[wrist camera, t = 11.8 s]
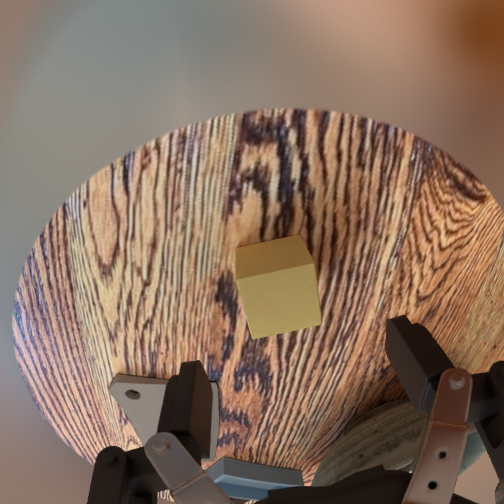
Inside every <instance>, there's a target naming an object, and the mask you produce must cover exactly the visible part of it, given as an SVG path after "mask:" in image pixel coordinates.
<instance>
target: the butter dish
mask: <svg viewBox="0 0 504 504" xmlns="http://www.w3.org/2000/svg"><path fill="white" fill-rule="evenodd" d="M205 472H206V473H207V474H208V476H209V477H210V478H211V479H212V480H213V481H214V482H215V483H216V484H217V485H218V486H219V487H220V489H221V490H222V491H223V492H224V493H225V494H226V495H227V496H228V497H232V498H238V499H245V500H253V501H259V500H261V499H263V498H265V497H268V490H274V489H281V488H287V487H293V486H304V483H303V477H302V471H300V470H292V469H285V468H278V467H272V466H266V465H261V464H255V463H250V462H245V461H241V460H236V459H232V458H227V457H223V458H221V459H220V460H219V461H218V462H216V463H215V464H214V465H212V466H211V467H210V468H208V469H207V470H206V471H205Z"/></svg>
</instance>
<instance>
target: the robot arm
mask: <svg viewBox="0 0 504 504" xmlns="http://www.w3.org/2000/svg"><path fill="white" fill-rule="evenodd" d="M385 349H386V354H387V357H388V359H389V361H390V363H391V365H392V367H393V368H394V370H395V372H396V374H397V376H398V378H399V380H400V382H401V384H402V385H403V387H404V389H405V391H406V393H407V395H408V397H409V399H410V401H411V403H412V405H413V407H414V409H415V411H416V413H419V412H421V411H424V410H425V411H426V413H427V418H426V421H425V425H424V428H423V431H422V434H421V437H420V441H419V444H418V447H417V449H416V452H415V455H414V458H413V460H412V462H411V465H410V467H409V470H408V472H407V471H403V470H384V467H383V464H381V465H378V466H375V467H372V468H369V469H365V470H362V471H359V472H355V473H353V474H351V475H349V476H348V477H346V478H344V479H342V480H340V481H338V482H336V483H333V484H331V485H329V486H293V487H287V488H281V489H274V490H268V497H265V498H263V499H261V500H259V501H257V502H255V503H253V504H478V503H475V502H473V501H471V500H468V499H466V498H464V497H461V496H459V495H457V494H455V493H453V491H454V487H455V485H456V481H457V478H458V474H459V471H460V467H461V463H462V459H463V455H464V451H465V447H466V442H467V437H468V432H469V425H467V423H472V422H473V423H474V425H475V427H476V429H477V431H478V433H479V435H480V438H481V440H482V442H483V444H484V446H485V448H486V450H487V453H488V455H489V457H490V459H491V462H492V464H493V466H494V468H495V471H496V473H497V476H498V478H499V481H500V482H499V483H498V485H497V487H496V490H495V501H496V504H504V361H498V362H496V363H494V364H493V365H492V366H491V368H490V371H489V372H485V373H478V374H470V373H469V372H467V371H466V370H464V369H462V368H455V366H454V365H453V364H452V362H451V361H450V359H449V358H448V357H447V355H446V354H445V353H444V351H443V350H442V348H441V347H440V346H439V344H437V342H436V340H435V339H434V338H433V337H432V335H431V334H430V332H429V331H428V330H427V328H425V327H424V326H422V325H420V324H419V323H414V324H411V322H410V321H409V320H408V318H407V317H406V316H405V315H401V316H398V317H394V318H391V319H388V320H387V328H386V342H385ZM212 404H213V391H212V386H211V383H210V381H209V379H208V377H207V374H206V372H205V370H204V368H203V366H202V363H201V362H200V361H199V360H196V361H189V362H182V363H181V367H180V372H179V375H172V377H171V378H170V380H169V381H168V383H167V384H166V388H165V393H164V398H163V404H162V407H161V412H160V417H159V422H158V428H157V432H156V434H155V435H153V436H152V437H150V438H149V439H148V441H147V442H146V444H145V446H143V447H140V448H137V449H133V450H130V451H126V452H125V451H124V450H123V449H121V448H120V447H117V446H109V447H106V448H104V449H103V450H101V451H100V453H99V454H98V456H97V458H96V462H95V467H94V471H93V476H92V481H91V486H90V491H89V496H88V502H87V504H157V494H158V492H160V491H164V490H167V489H169V490H170V495H171V497H172V498H173V500H174V501H175V502H176V504H235V503H234V502H233V501H232V500H231V499H230V498H229V497H228V496H227V495H226V494H225V493H224V492H223V491H222V490H221V489H220V487H219V486H218V485H217V484H216V483H215V482H214V481H213V480H212V479H211V478H210V477H209V476H208V474H207V473H206V472H205V471H204V470H203V469H202V468H201V459H210V443H211V423H212Z"/></svg>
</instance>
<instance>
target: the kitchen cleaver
mask: <svg viewBox="0 0 504 504" xmlns="http://www.w3.org/2000/svg"><path fill="white" fill-rule="evenodd" d="M168 381H169V380H166V379H155V378H146V377H137V376H129V375H122V374H117V375H116V376H115V378H114V379H113V380H112V381H111V383H110V386H109V389H108V391H109V392H110V394H111V395H112V396H113V397H114V399H115V400H116V401H117V402H118V403H119V405H120V406H121V407H122V408H123V410H124V411H125V413H126V415H127V416H128V418H129V419H130V421H131V423H132V424H133V426H134V428H135V430H136V432H137V434H138V436H139V438H140V440H141V443H142V446H145V444H146V442H147V441H148V439H149V438H150V437H152V436H153V435H155V434H156V432H157V428H158V422H159V417H160V412H161V407H162V404H163V398H164V393H165V388H166V384H167V383H168ZM210 383H211V386H212V391H213V404H212V423H211V443H210V459H201V461H214V458H215V452H216V446H217V439H218V432H219V406H218V387H217V385H216V382H210ZM130 390H135V391H138V392H139V393H134V392H132V391H130Z"/></svg>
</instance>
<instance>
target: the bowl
mask: <svg viewBox="0 0 504 504" xmlns="http://www.w3.org/2000/svg"><path fill="white" fill-rule="evenodd" d="M426 418H427V413H426V411H425V410H424V411H421V412H419V413H416V411H415V409H414V407H413V405H412V403H411V401H410V400H409V399H400V400H395V401H391V402H388V403H385V404H383V405H381V406H378V407H376V408H374V409H372V410H370V411H369V412H367V413H365V414H364V415H362V416H361V417H360V418H358V419H357V420H356V421H354V422H353V423H352V424H351V425H350V426H349V427H348V428H347V430H346V431H345V433H344V436H343V437H342V438H341V439H340V440H339V441H338V442H337V443H336V444H335V445H334V446H333V447H332V448H331V449H330V451H329V452H328V453H327V454H326V456H325V457H324V458H323V460H322V461H321V463H320V465H319V467H318V469H317V471H316V473H315V475H314V479H313V482H312V485H311V486H329V485H331V484H333V483H336V482H338V481H340V480H342V479H344V478H346V477H348V476H349V475H351V474H353V473H355V472H359V471H362V470H365V469H369V468H372V467H375V466H378V465H381V464H383V467H384V470H403V471H407V472H408V470H409V467H410V465H411V462H412V460H413V458H414V455H415V452H416V449H417V447H418V444H419V441H420V437H421V434H422V431H423V428H424V425H425V421H426ZM467 425H469V432H468V437H467V442H466V447H465V451H464V455H463V459H462V463H461V467H460V471H459V474H458V476H459V475H461V474H462V473H463V472H464V471H465V470H466V469H468V468H469V467H470V466H471V465H472V464H473V463H475V462H476V461H477V460H478V459H479V458H480V456H481V455H482V454H483V453H484V452H485V451H486V448H485V446H484V444H483V442H482V440H481V438H480V435H479V433H478V431H477V429H476V427H475V425H474V423H473V422H472V423H467Z"/></svg>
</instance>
